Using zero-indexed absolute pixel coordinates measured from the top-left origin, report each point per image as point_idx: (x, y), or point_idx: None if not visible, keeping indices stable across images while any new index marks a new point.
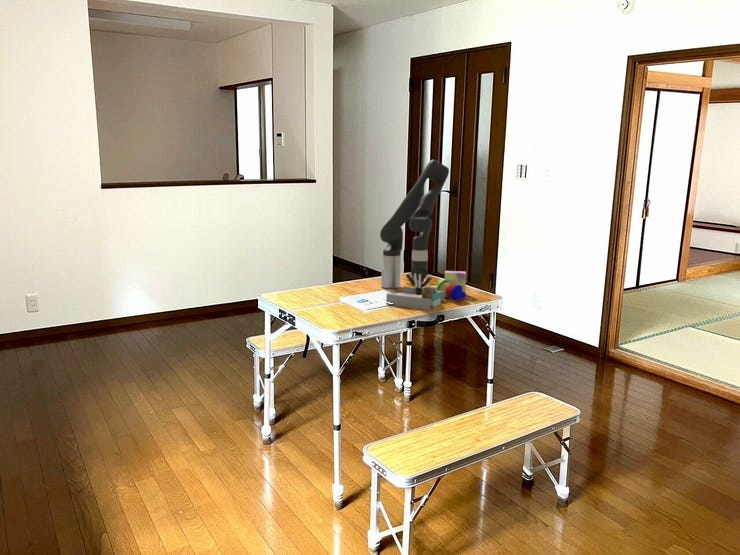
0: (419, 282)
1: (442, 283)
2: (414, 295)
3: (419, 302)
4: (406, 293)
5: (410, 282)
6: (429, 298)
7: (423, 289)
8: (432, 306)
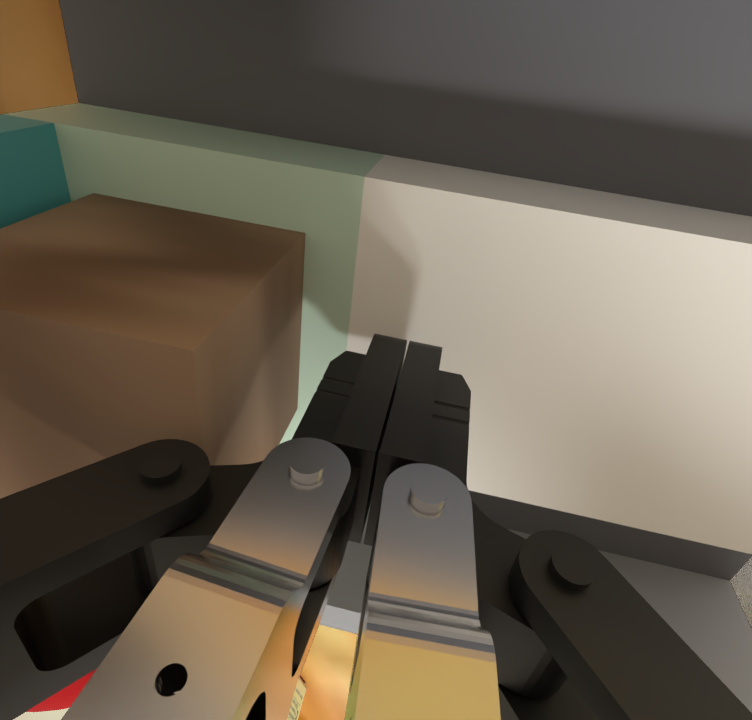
0: (223, 584)
1: None
2: (517, 446)
3: None
4: (690, 537)
5: (704, 673)
6: (114, 209)
7: (147, 324)
8: (89, 84)
